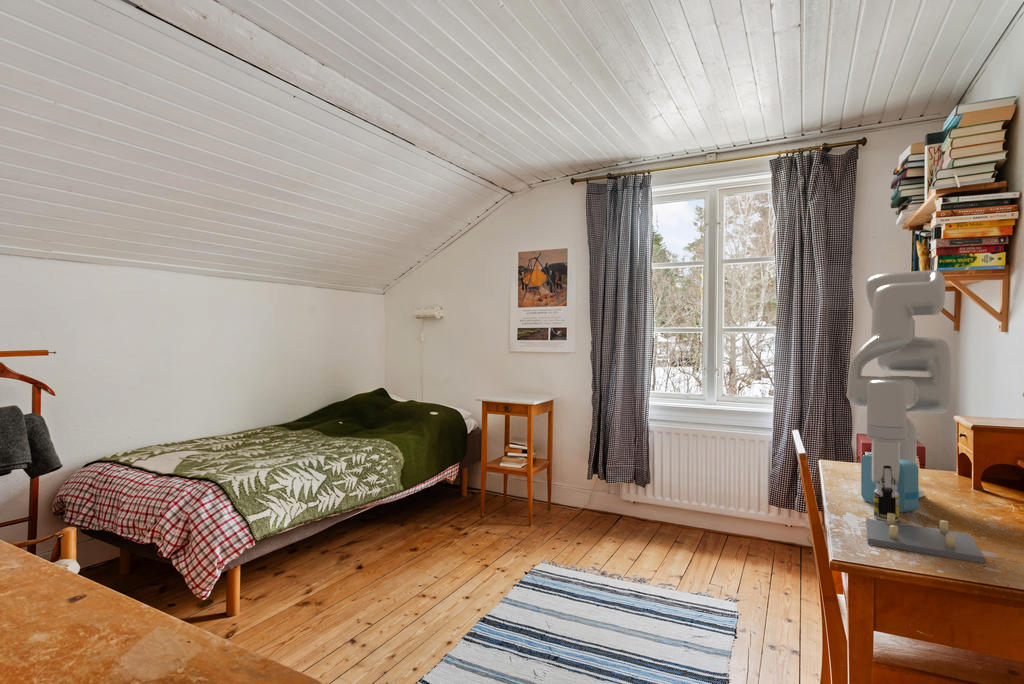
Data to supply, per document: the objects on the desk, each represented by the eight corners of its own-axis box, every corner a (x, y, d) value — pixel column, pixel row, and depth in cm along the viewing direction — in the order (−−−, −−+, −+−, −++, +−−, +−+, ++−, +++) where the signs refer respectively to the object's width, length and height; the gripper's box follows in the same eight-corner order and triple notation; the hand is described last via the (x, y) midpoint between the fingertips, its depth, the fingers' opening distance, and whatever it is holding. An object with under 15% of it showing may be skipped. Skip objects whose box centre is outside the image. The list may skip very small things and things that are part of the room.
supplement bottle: (869, 517, 126) (869, 481, 126) (882, 514, 128) (882, 479, 128) (890, 523, 122) (890, 486, 122) (903, 520, 123) (903, 484, 123)
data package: (919, 512, 129) (919, 462, 129) (903, 514, 128) (903, 464, 128) (875, 498, 141) (875, 452, 141) (860, 499, 140) (860, 453, 140)
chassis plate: (866, 523, 121) (866, 507, 121) (969, 539, 112) (969, 521, 112) (867, 543, 110) (867, 525, 110) (983, 563, 100) (983, 543, 100)
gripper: (866, 426, 134) (866, 499, 134) (867, 437, 119) (867, 519, 120) (903, 429, 130) (903, 504, 130) (909, 440, 115) (909, 525, 115)
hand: (886, 510), depth 125 cm, fingers closed on supplement bottle, 4 cm apart
